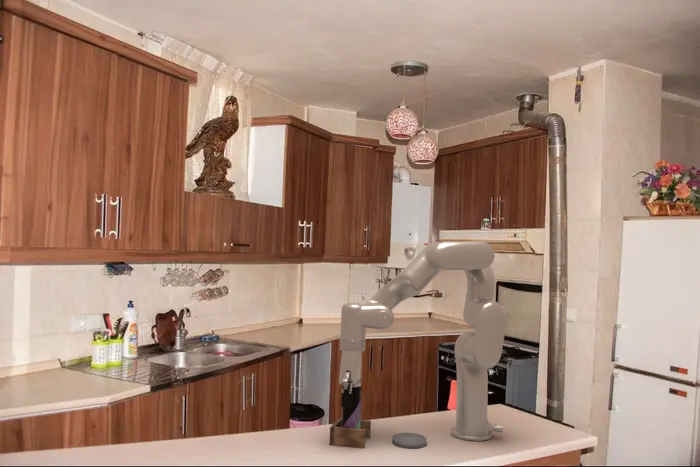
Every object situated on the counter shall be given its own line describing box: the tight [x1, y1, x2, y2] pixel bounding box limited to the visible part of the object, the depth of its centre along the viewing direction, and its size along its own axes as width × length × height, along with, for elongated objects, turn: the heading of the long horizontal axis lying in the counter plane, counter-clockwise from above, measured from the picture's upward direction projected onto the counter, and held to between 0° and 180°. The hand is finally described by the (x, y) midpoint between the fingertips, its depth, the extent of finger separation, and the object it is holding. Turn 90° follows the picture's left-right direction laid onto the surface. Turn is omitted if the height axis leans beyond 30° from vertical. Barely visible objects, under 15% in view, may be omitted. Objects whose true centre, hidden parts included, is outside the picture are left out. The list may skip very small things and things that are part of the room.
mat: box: [391, 432, 427, 450], centre depth 166 cm, size 10×10×2 cm
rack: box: [329, 417, 372, 449], centre depth 166 cm, size 10×10×5 cm
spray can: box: [341, 375, 362, 429], centre depth 167 cm, size 6×6×20 cm
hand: (350, 403), depth 167 cm, fingers open, 9 cm apart
